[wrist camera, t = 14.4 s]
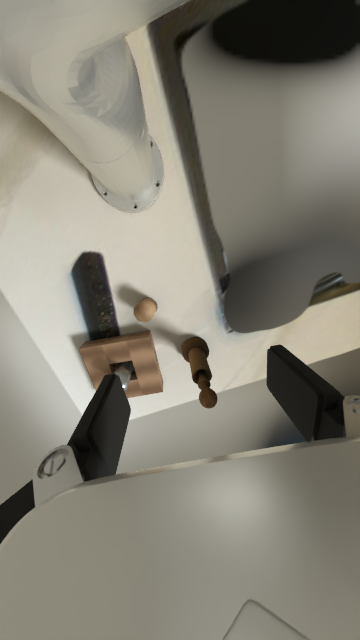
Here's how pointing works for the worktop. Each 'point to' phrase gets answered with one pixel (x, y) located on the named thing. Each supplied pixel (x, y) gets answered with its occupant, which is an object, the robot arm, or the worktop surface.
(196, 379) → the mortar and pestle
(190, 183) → the worktop surface
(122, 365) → the long pin
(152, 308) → the short pin
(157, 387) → the hole plate
